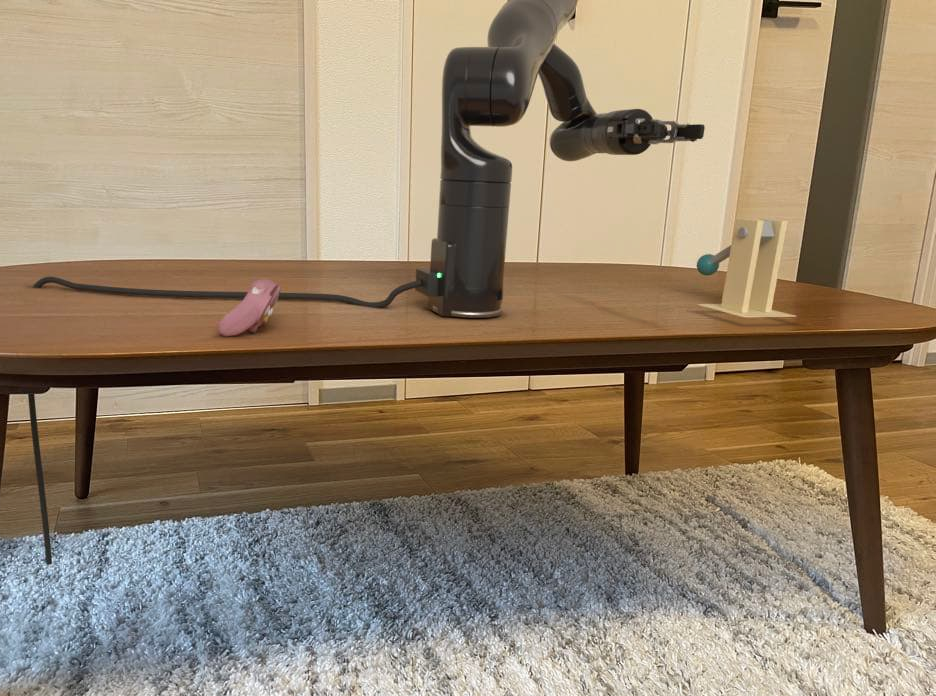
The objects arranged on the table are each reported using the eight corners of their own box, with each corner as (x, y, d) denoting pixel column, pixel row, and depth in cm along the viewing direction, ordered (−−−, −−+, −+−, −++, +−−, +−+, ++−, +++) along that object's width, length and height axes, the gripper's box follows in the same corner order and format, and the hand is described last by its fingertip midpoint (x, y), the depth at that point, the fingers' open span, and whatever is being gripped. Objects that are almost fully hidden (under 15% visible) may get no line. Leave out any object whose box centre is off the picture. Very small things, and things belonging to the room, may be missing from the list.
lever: (694, 278, 119) (690, 259, 119) (711, 278, 119) (707, 259, 120) (759, 238, 105) (754, 217, 106) (778, 239, 106) (773, 217, 107)
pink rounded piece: (250, 352, 86) (278, 297, 84) (213, 332, 85) (240, 276, 83) (266, 333, 95) (291, 283, 93) (232, 315, 94) (257, 265, 93)
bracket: (695, 312, 114) (710, 216, 110) (745, 311, 117) (762, 217, 113) (742, 325, 105) (760, 221, 101) (795, 324, 108) (815, 223, 104)
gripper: (589, 107, 134) (643, 101, 119) (659, 112, 138) (721, 107, 124) (584, 153, 136) (637, 153, 122) (653, 156, 141) (713, 157, 126)
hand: (679, 130), depth 123 cm, fingers open, 8 cm apart
